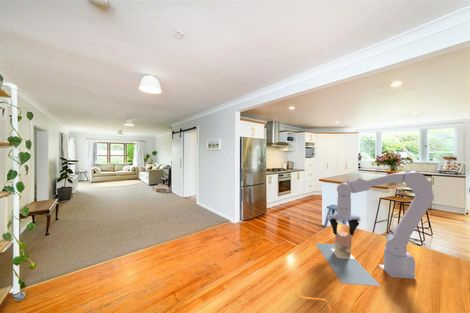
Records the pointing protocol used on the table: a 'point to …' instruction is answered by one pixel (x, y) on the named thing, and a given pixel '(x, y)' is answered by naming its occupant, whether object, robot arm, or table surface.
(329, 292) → the table surface
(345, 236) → the terracotta cube
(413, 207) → the robot arm
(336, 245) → the maple cube
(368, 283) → the board
